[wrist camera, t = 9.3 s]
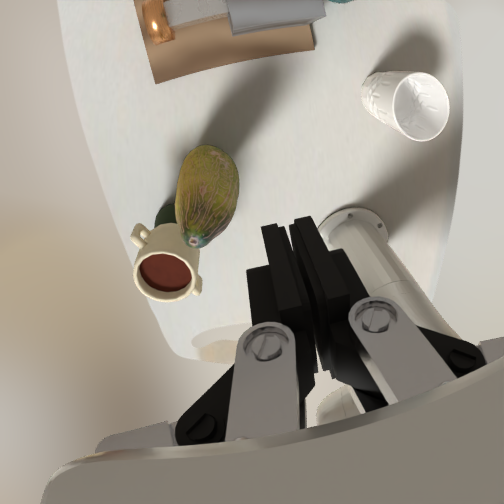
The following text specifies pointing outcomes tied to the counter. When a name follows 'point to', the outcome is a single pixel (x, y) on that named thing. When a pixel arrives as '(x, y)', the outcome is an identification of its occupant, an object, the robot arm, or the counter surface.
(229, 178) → the vegetable
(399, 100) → the white cup
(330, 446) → the robot arm
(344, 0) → the beverage bottle
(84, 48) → the counter surface
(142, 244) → the character mug
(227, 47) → the board
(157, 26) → the shaft
